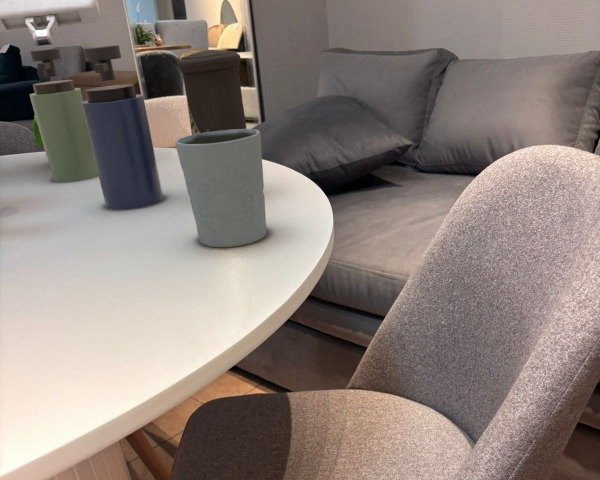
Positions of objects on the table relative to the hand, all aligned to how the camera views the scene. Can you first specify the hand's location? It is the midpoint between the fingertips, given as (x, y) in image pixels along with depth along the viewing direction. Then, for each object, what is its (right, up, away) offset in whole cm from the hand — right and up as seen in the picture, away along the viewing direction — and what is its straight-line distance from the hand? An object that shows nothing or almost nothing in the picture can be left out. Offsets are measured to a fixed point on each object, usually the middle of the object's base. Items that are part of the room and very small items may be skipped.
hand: (43, 42), depth 112 cm
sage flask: (+2, -20, +11) cm, 23 cm away
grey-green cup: (+37, -42, -31) cm, 64 cm away
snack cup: (-4, -12, +26) cm, 29 cm away
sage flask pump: (+1, -5, +1) cm, 6 cm away
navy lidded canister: (+19, -31, -11) cm, 38 cm away
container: (+34, -31, -13) cm, 48 cm away
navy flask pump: (+18, -17, -21) cm, 33 cm away
